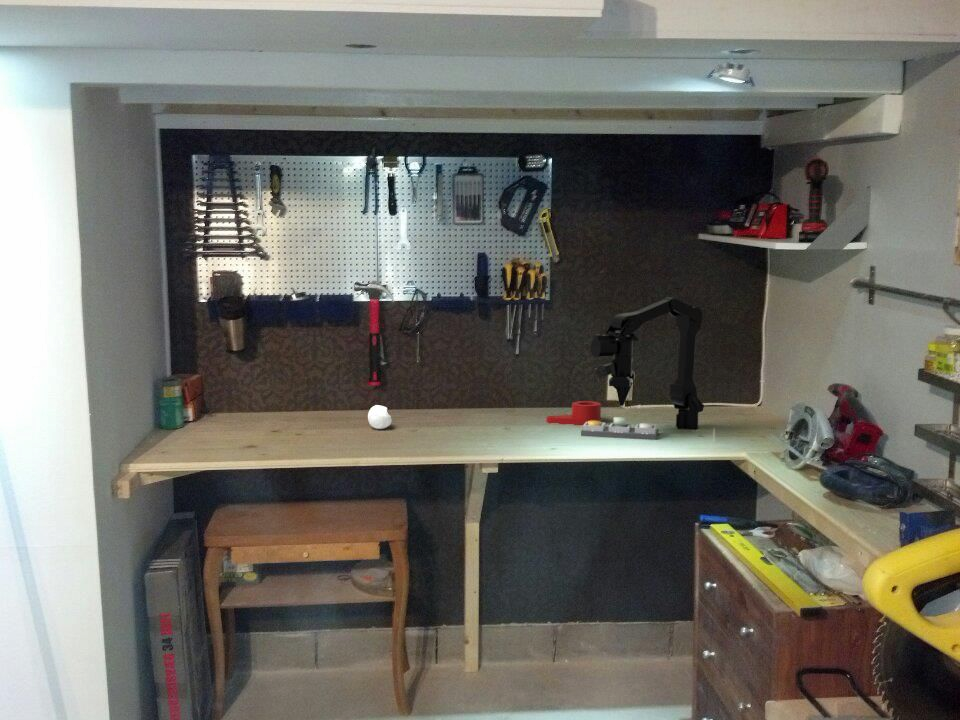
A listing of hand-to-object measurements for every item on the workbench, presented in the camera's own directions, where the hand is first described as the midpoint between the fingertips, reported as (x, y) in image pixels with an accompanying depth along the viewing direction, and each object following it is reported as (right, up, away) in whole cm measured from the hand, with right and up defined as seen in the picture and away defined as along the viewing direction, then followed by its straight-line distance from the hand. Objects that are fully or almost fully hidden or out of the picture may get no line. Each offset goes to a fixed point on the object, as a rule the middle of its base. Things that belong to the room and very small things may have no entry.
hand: (621, 405), depth 290 cm
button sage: (0, -6, +1) cm, 6 cm away
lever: (-13, -7, +20) cm, 25 cm away
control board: (0, -9, +2) cm, 9 cm away
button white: (+7, -8, -1) cm, 11 cm away
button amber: (-8, -7, +3) cm, 11 cm away
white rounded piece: (-76, -8, +11) cm, 77 cm away
